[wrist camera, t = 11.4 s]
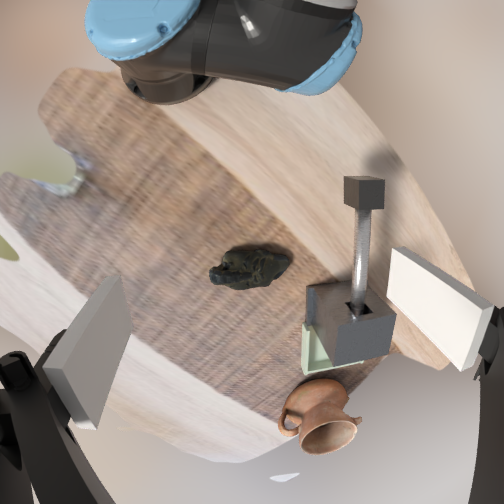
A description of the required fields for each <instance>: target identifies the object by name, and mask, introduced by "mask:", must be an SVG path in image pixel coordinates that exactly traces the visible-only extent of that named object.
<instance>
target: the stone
mask: <svg viewBox="0 0 504 504" xmlns="http://www.w3.org/2000/svg"><path fill="white" fill-rule="evenodd" d="M289 264H290V262H289V259H288V258H287V257H286V256H285V255H280V254H271V253H270V252H269V251H265V250H260V249H257V250H256V251H254V252H250V251H243V250H240V251H227V252H226V253H225V255H224V256H223V261H222V264H221V265H219V266H218V267H213V268H211V269H210V270H209V277H210V280H211V282H212V283H213V284H215V285H225V286H228V287H230V288H232V289H235V290H245V289H249V288H255V287H267V286H269V285H270V283H271V282H272V280H275V279H277V278H279V277H280V276H281V275H282V274H283V272H284V271H285V270H286V269H287V267H288V266H289Z"/></svg>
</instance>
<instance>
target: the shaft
mask: <svg viewBox="0 0 504 504" xmlns="http://www.w3.org/2000/svg"><path fill="white" fill-rule="evenodd" d="M384 194H385V180H383V179H379V178H374V177H370V176H344V204H346V205H348V206H351V207H353V208H355V233H354V255H353V271H352V284H351V296H350V307H349V309H350V310H351V311H352V313H353V314H354V315H355V317H356V316H361V315H363V312H364V304H365V295H366V286H367V276H368V265H369V252H370V236H371V213H372V210H374V209H384Z"/></svg>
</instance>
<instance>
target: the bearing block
mask: <svg viewBox="0 0 504 504" xmlns="http://www.w3.org/2000/svg"><path fill="white" fill-rule="evenodd" d="M351 284H352V280H349V281H342V282H335V283H328V284H320V285H312V286H306V324H307V326H312V327H313V329H314V331H315V332H316V334H317V336H318V338H319V340H320V342H321V344H322V346H323V348H324V350H325V352H326V354H327V355H328V357H329V359H330V361H331V363H332V365H333V367H336V366H341V365H346V364H350V363H355V362H359V361H363V360H367V359H371V358H375V357H379V356H383V355H387V354H388V353H389V348H390V344H391V339H392V335H393V330H394V325H395V320H396V315H397V314H396V313H395V312H394V311H393V310H392V309H391V308H390V307H389V306H388V305H387V304H386V303H385V302H384V301H383V300H382V299H381V298H380V297H379V296H378V295H377V294H376V293H375V292H374V291H373V290H372V289H371V288H370V287H369V286H368V280H367V286H366V295H365V304H364V312H363V315H361V316H356V317H355V315H354V314H353V313H352V311H351V310H350V309H349V307H350V296H351Z"/></svg>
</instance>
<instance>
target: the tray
mask: <svg viewBox="0 0 504 504" xmlns="http://www.w3.org/2000/svg"><path fill="white" fill-rule="evenodd" d="M363 362H364V360H363V361H359V362H355V363H350V364H346V365H341V366H336V367H333V365H332V363H331V361H330V359H329V357H328V355H327V354H326V352H325V350H324V348H323V346H322V344H321V342H320V340H319V338H318V336H317V334H316V332H315V331H314V329H313V327H312V326H307V324H306V322H304V323H302V354H301V367H302V370H303V373H304V375H307V374H308V373H314V372H319V371H324V370H330V369H334V368H339V367H344V366H348V365H353V364H357V363H363Z"/></svg>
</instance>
